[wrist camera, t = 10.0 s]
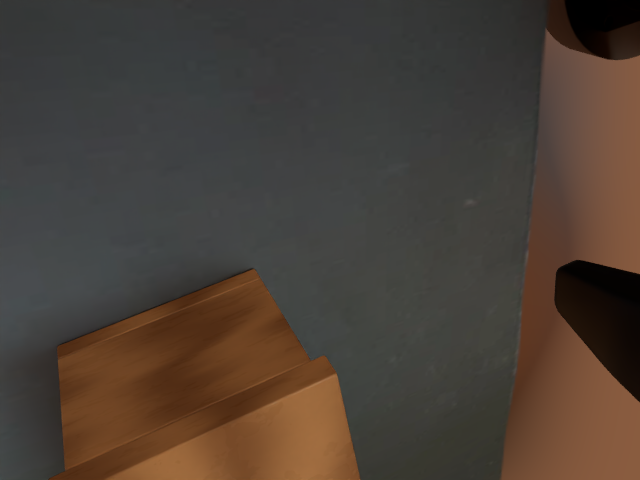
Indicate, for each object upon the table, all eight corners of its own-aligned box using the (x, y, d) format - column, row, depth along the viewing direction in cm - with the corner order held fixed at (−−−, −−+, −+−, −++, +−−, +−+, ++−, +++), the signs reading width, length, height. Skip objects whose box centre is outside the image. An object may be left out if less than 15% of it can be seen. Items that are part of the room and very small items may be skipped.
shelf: (265, 263, 24) (337, 373, 18) (322, 465, 32) (384, 585, 26) (42, 351, 22) (47, 506, 16) (162, 545, 30) (193, 694, 24)
